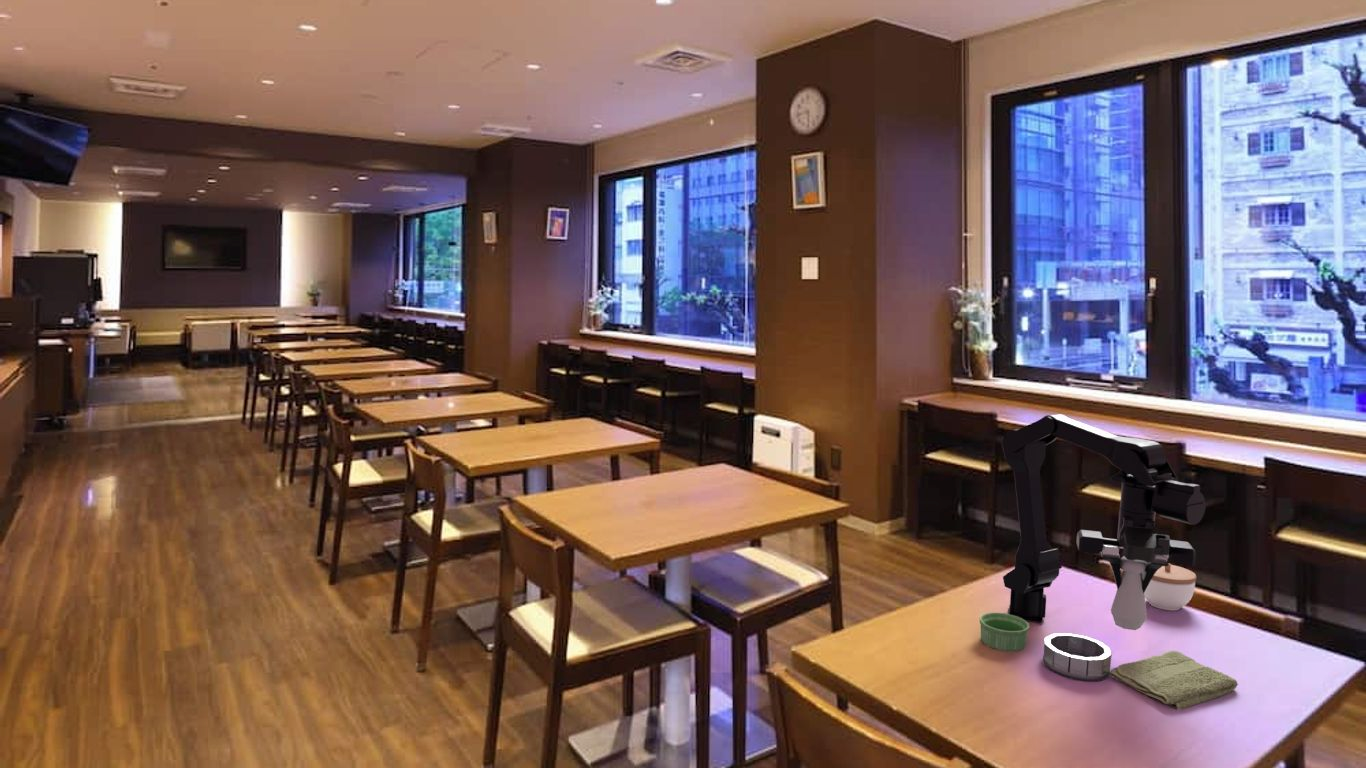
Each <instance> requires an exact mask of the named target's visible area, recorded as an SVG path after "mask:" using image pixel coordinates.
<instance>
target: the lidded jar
mask: <svg viewBox="0 0 1366 768" xmlns="http://www.w3.org/2000/svg"><path fill="white" fill-rule="evenodd" d="M1168 563H1169V562H1168ZM1196 581H1197V575H1196V573H1195V572H1193V571H1192V570H1189V569H1188V568H1184V567H1182V566H1179V565H1173V564H1171V563H1169V565H1168V566H1162V567H1161V568H1159V569H1158V570H1157V571H1156V573H1155V574H1154V576H1153V577H1152V579H1151V581H1150V583H1149V585H1148V586H1147V588H1146V590H1145V592H1144V596H1145V600H1147V602H1149V603H1148V604H1149V605H1150V604H1151V605H1150V606H1152V607H1154V608H1156V609H1160V610H1165V611H1170V612H1171V611H1175V612H1176V611H1179V609H1180V608H1181V609H1182V608H1183V607H1185V606H1186V605H1188V604H1189V602H1190V601H1191V599H1192V598H1193V595H1194V593H1195V588H1196ZM1181 609H1180V610H1181Z"/></svg>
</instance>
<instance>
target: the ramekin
mask: <svg viewBox="0 0 1366 768" xmlns="http://www.w3.org/2000/svg"><path fill="white" fill-rule="evenodd" d="M979 624H980V639H981V642H982V643H983V644H984V645H986V646H987V647H989V648H991V647H992V648H991V649H994V648H995V649H994V650H997V649H998V650H997V651H1001V650H1002V651H1004V652H1010V651H1011V653H1012V652H1018V651H1021V650H1023V649H1024V648H1025V646H1026V644H1027V643H1026V642H1027V638H1028V632H1029V629H1030V624H1029V622H1028V621H1026V620H1024V619H1022V618H1020V617H1017V616H1014V615H1010V614H1009V613H1005V612H987V613H984V614H981V615H980V616H979Z"/></svg>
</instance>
